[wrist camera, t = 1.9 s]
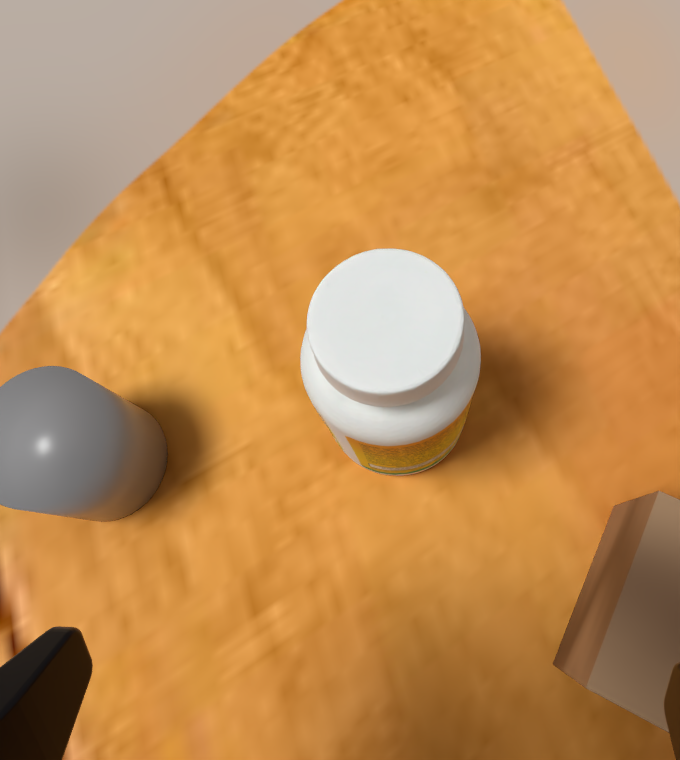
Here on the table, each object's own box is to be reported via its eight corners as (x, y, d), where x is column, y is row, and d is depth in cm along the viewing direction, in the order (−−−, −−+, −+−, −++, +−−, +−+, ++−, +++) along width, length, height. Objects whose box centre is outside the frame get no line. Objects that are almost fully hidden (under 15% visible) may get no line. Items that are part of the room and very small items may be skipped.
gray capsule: (97, 547, 24) (17, 542, 19) (33, 459, 25) (-55, 434, 21) (191, 461, 24) (135, 436, 20) (123, 380, 26) (56, 338, 21)
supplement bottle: (305, 421, 24) (234, 332, 15) (388, 325, 25) (369, 187, 16) (407, 507, 23) (397, 466, 14) (493, 403, 23) (537, 297, 14)
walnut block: (669, 726, 20) (738, 769, 15) (552, 663, 21) (585, 687, 16) (726, 557, 21) (804, 554, 17) (612, 506, 22) (658, 490, 18)
